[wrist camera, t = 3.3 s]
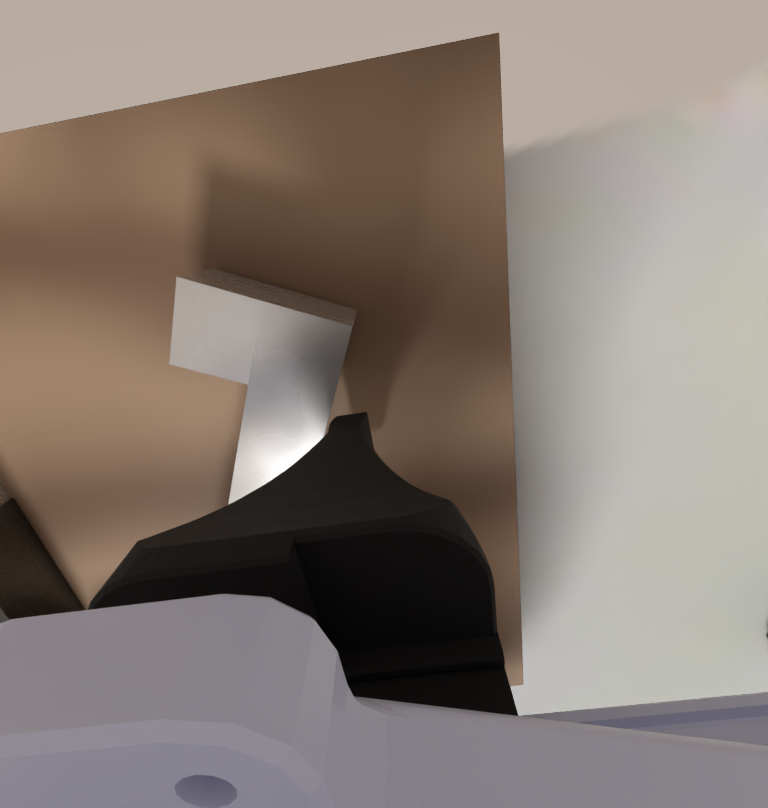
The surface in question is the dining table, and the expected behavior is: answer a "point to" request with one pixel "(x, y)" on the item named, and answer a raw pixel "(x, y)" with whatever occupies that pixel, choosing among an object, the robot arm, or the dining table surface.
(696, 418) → the dining table surface
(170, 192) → the cutting board
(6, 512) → the tongs fixed arm
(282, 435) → the tongs arm
